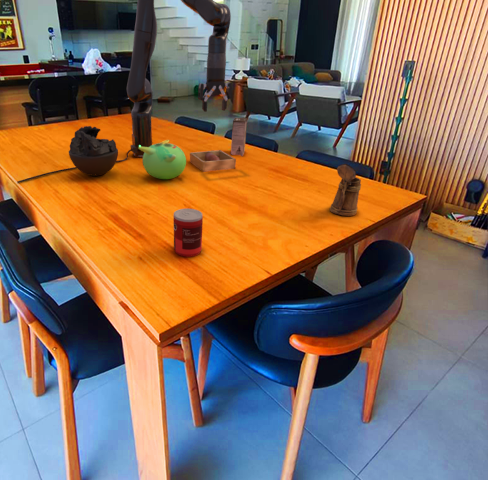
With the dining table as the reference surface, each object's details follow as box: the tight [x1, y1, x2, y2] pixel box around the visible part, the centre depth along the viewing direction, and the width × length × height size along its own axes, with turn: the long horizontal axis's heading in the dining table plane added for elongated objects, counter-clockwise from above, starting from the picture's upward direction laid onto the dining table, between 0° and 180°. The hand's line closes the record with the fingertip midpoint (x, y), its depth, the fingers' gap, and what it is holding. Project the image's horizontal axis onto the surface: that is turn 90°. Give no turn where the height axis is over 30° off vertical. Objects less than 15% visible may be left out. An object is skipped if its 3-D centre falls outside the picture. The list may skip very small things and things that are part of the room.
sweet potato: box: [205, 153, 220, 161], centre depth 174 cm, size 11×5×5 cm, turn 20°
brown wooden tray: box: [189, 149, 237, 173], centre depth 174 cm, size 16×17×5 cm
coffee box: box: [230, 117, 248, 157], centre depth 189 cm, size 9×6×16 cm
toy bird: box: [138, 139, 187, 180], centre depth 156 cm, size 18×17×15 cm
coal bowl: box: [68, 125, 119, 177], centre depth 158 cm, size 20×20×19 cm
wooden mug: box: [329, 163, 362, 217], centre depth 126 cm, size 9×14×18 cm, turn 139°
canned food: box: [173, 208, 204, 258], centre depth 105 cm, size 8×8×11 cm
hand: (214, 110), depth 162 cm, fingers open, 8 cm apart
